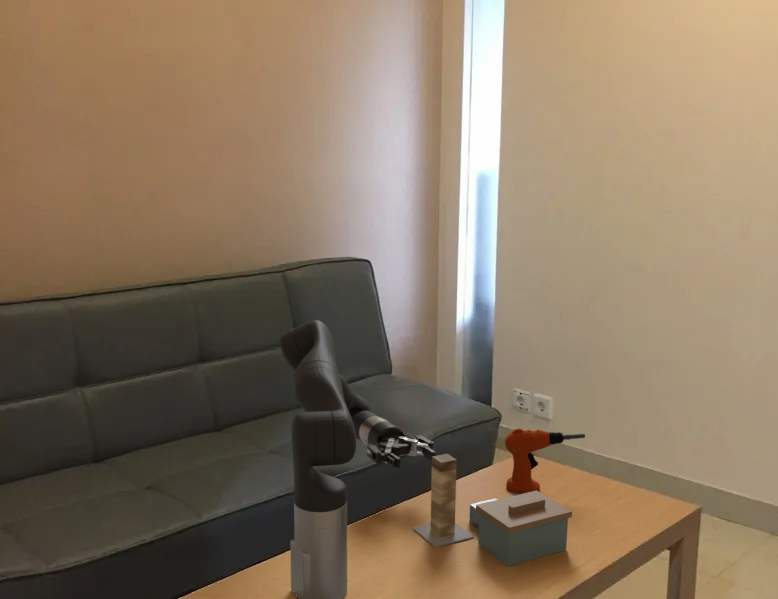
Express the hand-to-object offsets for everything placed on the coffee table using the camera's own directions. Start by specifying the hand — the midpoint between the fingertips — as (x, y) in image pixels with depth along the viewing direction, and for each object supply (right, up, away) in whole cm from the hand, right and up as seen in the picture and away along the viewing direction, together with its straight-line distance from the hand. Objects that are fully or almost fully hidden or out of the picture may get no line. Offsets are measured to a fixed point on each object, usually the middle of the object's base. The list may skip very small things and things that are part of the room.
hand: (416, 460), depth 177 cm
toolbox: (+21, -15, -13) cm, 28 cm away
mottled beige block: (+5, -13, -7) cm, 16 cm away
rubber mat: (+5, -14, -7) cm, 16 cm away
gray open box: (+16, -13, -4) cm, 20 cm away
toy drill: (+30, -10, +15) cm, 34 cm away
